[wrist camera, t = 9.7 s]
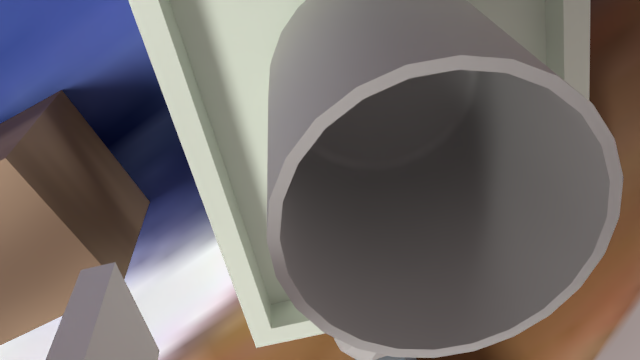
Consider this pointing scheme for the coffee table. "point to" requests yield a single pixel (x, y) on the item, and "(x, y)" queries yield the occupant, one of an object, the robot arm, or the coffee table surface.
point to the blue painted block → (395, 358)
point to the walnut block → (58, 212)
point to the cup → (429, 178)
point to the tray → (252, 116)
